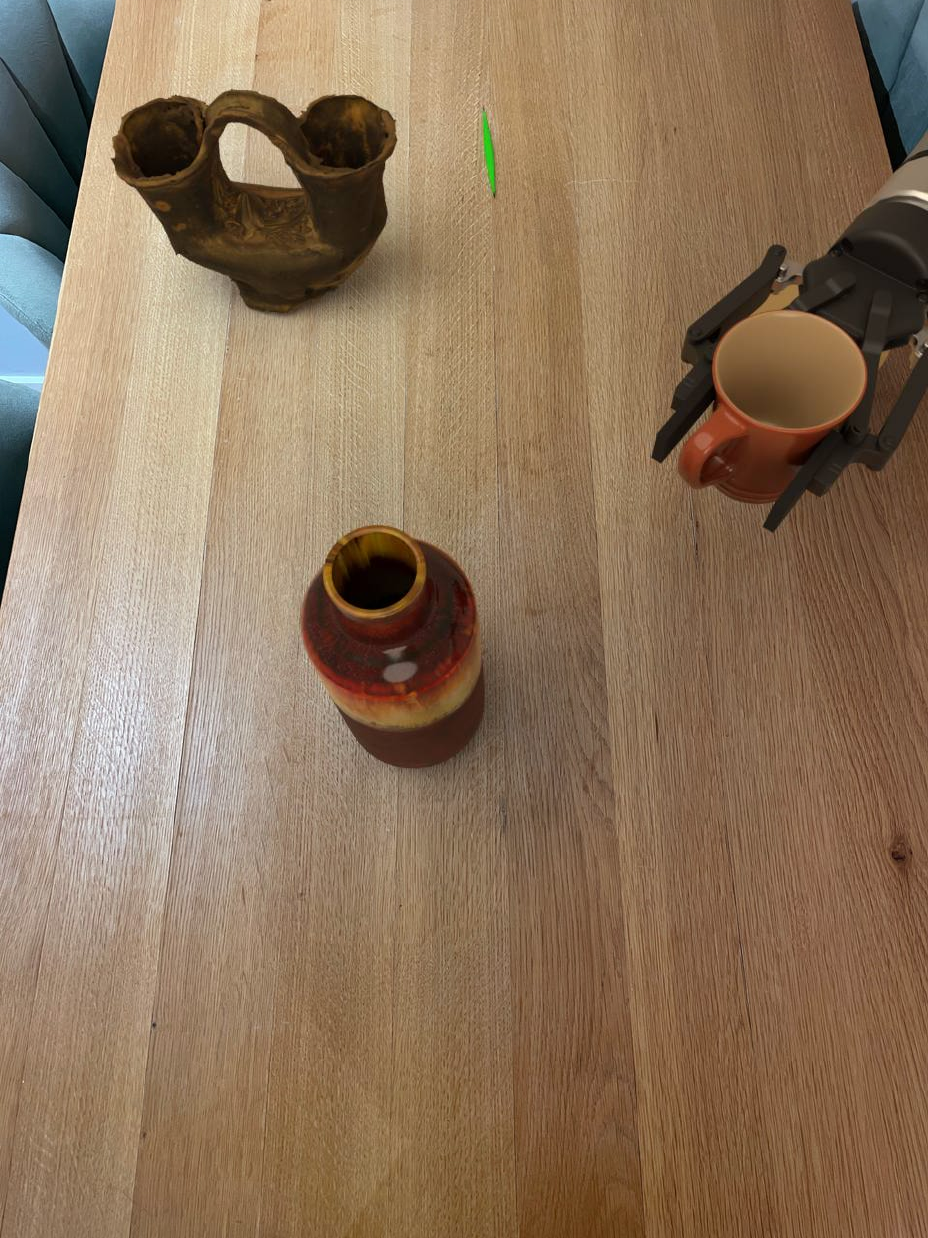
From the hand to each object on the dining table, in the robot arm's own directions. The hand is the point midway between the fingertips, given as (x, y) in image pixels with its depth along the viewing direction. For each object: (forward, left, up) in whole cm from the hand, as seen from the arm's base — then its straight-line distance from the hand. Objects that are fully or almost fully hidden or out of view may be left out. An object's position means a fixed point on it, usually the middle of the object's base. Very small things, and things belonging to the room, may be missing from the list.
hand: (715, 482), depth 57 cm
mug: (-2, -4, -6) cm, 8 cm away
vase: (+19, +9, -23) cm, 31 cm away
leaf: (+19, -53, -23) cm, 61 cm away
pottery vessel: (+37, -35, -23) cm, 56 cm away
